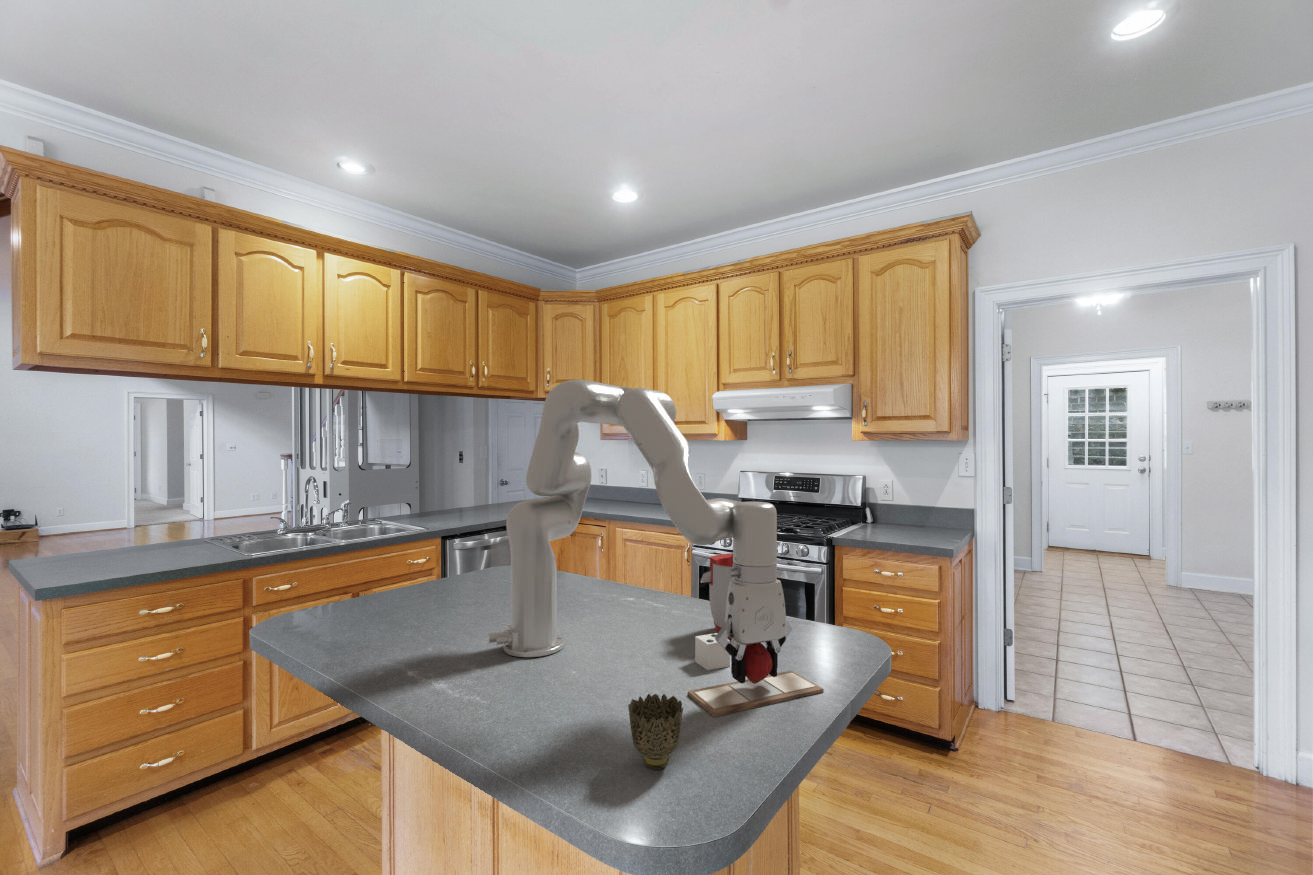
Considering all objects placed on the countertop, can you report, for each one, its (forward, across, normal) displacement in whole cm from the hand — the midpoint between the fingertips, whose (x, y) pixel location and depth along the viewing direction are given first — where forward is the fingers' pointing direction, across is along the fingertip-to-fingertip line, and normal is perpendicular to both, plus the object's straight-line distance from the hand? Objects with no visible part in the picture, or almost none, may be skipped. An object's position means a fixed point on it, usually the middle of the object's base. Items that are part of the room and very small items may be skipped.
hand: (754, 676), depth 100 cm
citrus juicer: (+3, +15, +29) cm, 33 cm away
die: (+3, 0, +15) cm, 15 cm away
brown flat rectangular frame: (+3, 0, 0) cm, 3 cm away
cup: (+3, -25, -13) cm, 28 cm away
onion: (+1, 0, 0) cm, 1 cm away
